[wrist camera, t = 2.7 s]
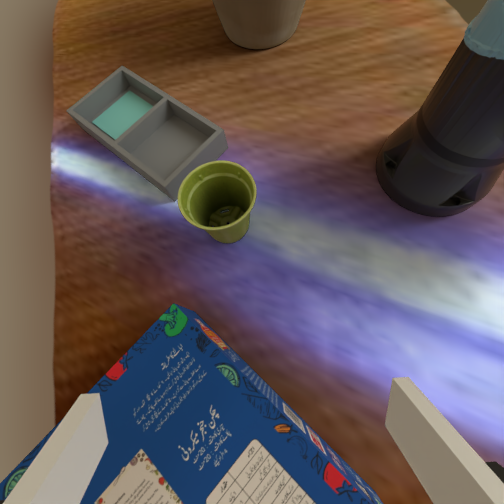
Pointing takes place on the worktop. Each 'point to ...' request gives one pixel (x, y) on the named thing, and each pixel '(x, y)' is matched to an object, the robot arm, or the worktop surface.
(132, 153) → the tray
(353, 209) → the worktop surface
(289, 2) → the plant pot
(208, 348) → the pasta box
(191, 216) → the plant pot
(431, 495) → the robot arm
